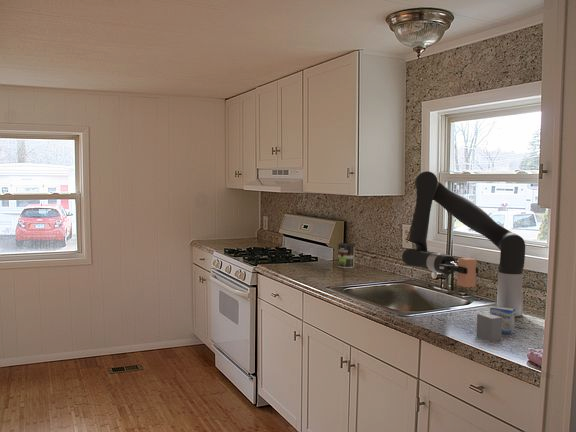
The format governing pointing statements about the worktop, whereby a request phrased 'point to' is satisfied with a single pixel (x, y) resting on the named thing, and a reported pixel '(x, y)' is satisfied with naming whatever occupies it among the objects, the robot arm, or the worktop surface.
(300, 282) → the worktop surface
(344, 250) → the clear container
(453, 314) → the worktop surface
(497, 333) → the slate-grey plastic block
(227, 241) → the worktop surface
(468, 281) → the terracotta block
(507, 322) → the medicine box
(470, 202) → the robot arm
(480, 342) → the worktop surface
